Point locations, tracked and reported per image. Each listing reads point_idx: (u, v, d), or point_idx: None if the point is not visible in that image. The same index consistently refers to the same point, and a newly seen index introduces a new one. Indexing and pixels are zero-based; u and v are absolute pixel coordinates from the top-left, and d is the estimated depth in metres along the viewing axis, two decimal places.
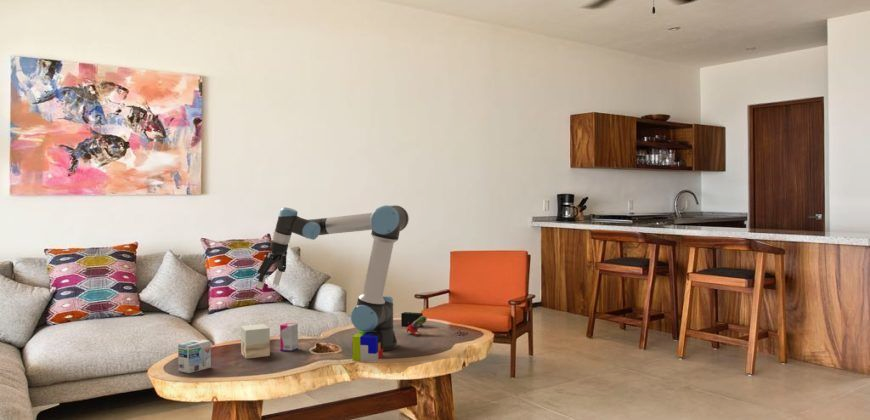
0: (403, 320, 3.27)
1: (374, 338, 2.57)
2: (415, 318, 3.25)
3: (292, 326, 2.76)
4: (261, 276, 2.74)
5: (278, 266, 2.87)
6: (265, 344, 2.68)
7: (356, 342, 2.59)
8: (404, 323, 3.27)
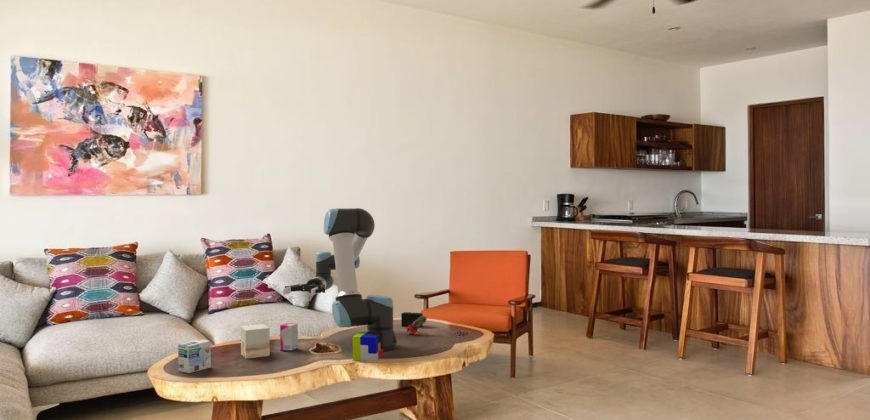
0: (403, 320, 3.27)
1: (374, 338, 2.57)
2: (415, 318, 3.25)
3: (292, 326, 2.76)
4: None
5: None
6: (264, 344, 2.68)
7: (356, 342, 2.59)
8: (404, 323, 3.27)
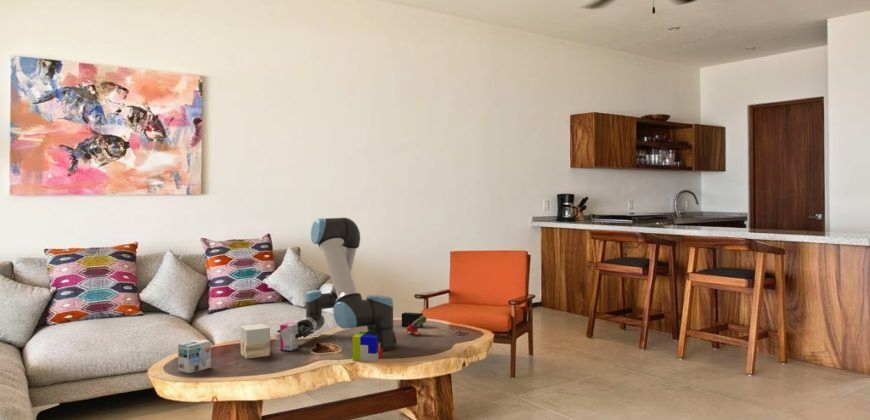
0: (403, 320, 3.26)
1: (374, 338, 2.57)
2: (416, 318, 3.24)
3: (292, 326, 2.76)
4: None
5: None
6: (265, 344, 2.68)
7: (356, 342, 2.59)
8: (405, 323, 3.26)
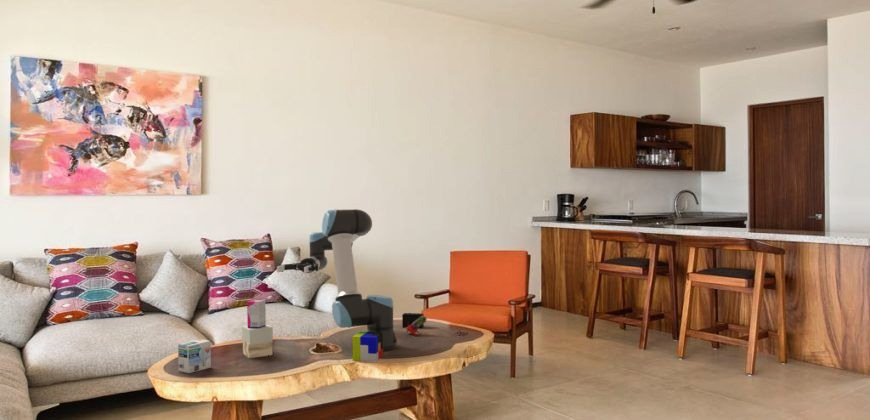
0: (404, 321, 3.24)
1: (374, 338, 2.57)
2: None
3: (260, 302, 2.69)
4: None
5: None
6: (267, 343, 2.69)
7: (356, 342, 2.59)
8: (405, 324, 3.24)
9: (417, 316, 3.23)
